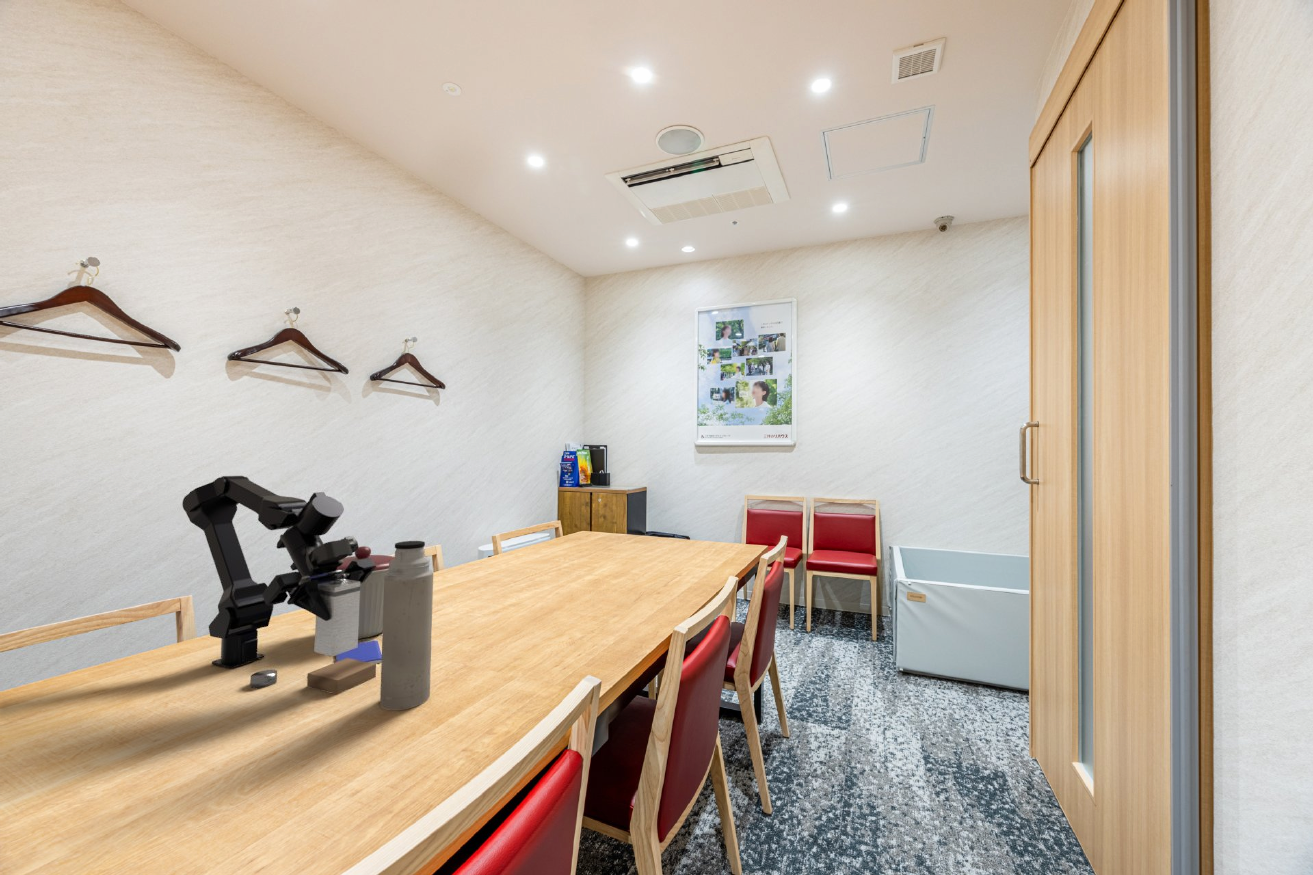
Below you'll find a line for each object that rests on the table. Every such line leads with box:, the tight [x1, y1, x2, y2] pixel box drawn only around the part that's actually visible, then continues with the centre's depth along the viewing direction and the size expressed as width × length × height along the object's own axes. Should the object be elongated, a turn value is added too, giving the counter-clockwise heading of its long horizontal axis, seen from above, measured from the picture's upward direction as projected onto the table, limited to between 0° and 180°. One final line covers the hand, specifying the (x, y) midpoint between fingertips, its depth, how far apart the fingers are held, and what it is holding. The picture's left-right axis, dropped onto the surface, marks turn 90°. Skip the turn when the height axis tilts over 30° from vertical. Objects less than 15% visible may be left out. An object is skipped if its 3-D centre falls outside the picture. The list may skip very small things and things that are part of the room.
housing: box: [313, 579, 361, 657], centre depth 96 cm, size 5×5×13 cm
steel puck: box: [249, 669, 278, 689], centre depth 96 cm, size 4×4×2 cm
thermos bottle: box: [379, 540, 434, 711], centre depth 91 cm, size 8×8×28 cm
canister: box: [337, 545, 395, 640], centre depth 125 cm, size 18×18×21 cm
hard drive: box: [335, 640, 382, 665], centre depth 110 cm, size 2×8×12 cm
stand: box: [306, 658, 377, 695], centre depth 97 cm, size 8×8×2 cm
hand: (342, 615), depth 96 cm, fingers closed on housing, 5 cm apart
